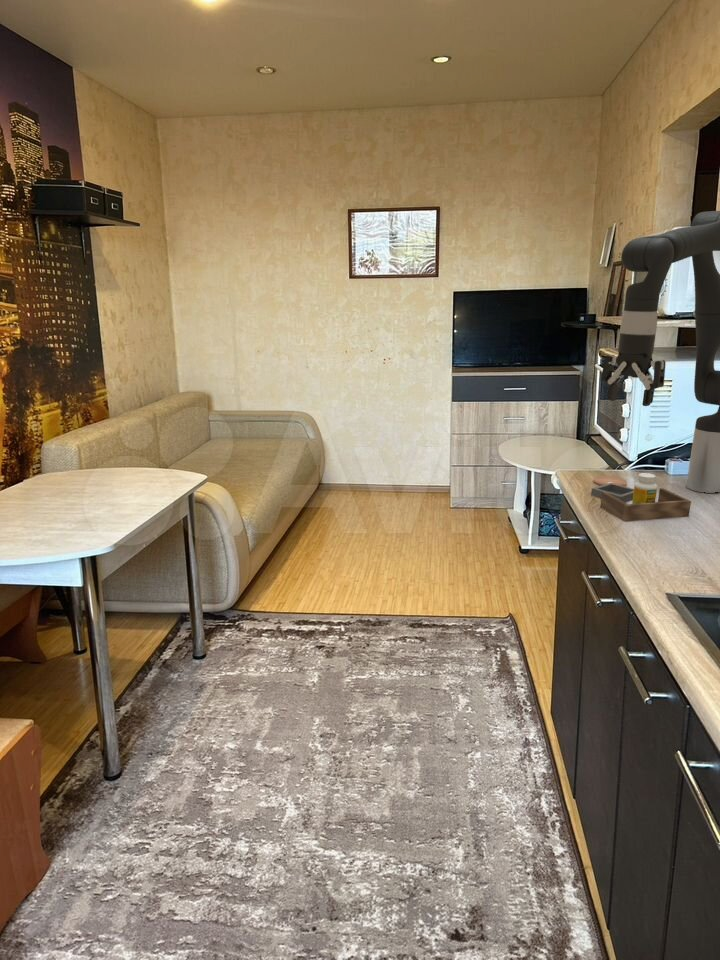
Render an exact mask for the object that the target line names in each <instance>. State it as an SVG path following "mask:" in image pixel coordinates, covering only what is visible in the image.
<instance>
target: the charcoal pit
mask: <svg viewBox="0 0 720 960" xmlns="http://www.w3.org/2000/svg"><path fill="white" fill-rule="evenodd" d="M602 492H606V493H608V494H610V495H612V496H614V497H616V498H618V499H619V500H621V501H623V502H625V503H627V502H630V501H631V502H632V501H633V494H634V488H632V487H628V486H621V485H617V484H613V483H608V484H605V485H601V486H599V485H597V486H596V487H592V488H591V492H590V493H591V494H590V496H593V497H595V496H596V498H598V497H599V498H600V499H601V496H602Z"/></svg>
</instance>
